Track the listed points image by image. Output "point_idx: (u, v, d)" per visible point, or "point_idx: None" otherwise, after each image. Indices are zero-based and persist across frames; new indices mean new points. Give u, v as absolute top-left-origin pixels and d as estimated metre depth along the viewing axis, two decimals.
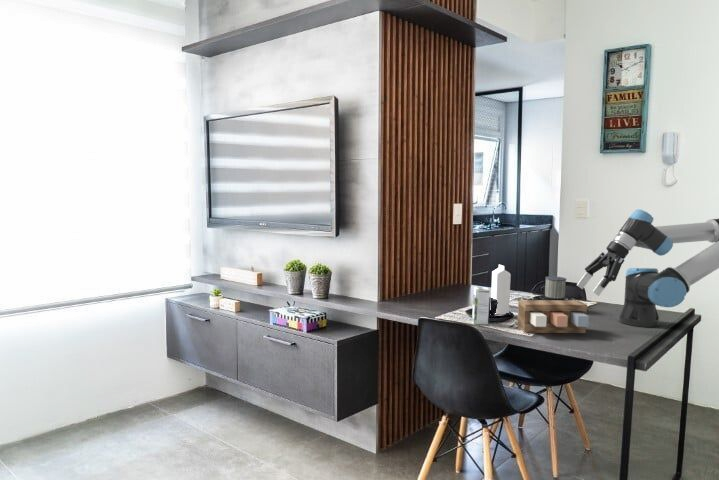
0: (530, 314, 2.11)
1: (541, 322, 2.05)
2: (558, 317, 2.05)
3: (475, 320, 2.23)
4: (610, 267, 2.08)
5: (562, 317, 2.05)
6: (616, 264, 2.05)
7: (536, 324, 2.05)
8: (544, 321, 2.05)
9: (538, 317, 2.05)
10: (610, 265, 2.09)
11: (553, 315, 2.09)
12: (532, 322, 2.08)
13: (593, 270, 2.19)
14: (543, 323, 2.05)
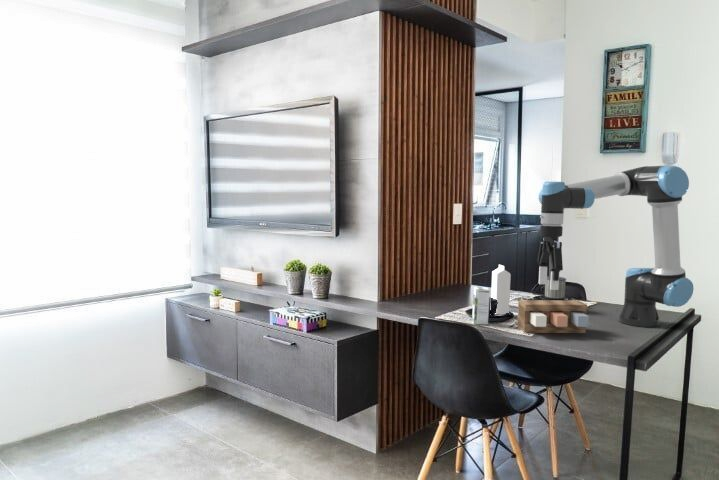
0: (530, 314, 2.11)
1: (541, 322, 2.05)
2: (558, 317, 2.05)
3: (475, 320, 2.23)
4: (553, 255, 1.93)
5: (562, 317, 2.05)
6: (556, 252, 1.90)
7: (536, 324, 2.05)
8: (544, 321, 2.05)
9: (538, 317, 2.05)
10: (552, 253, 1.94)
11: (553, 315, 2.09)
12: (532, 322, 2.08)
13: (544, 260, 2.03)
14: (543, 323, 2.05)
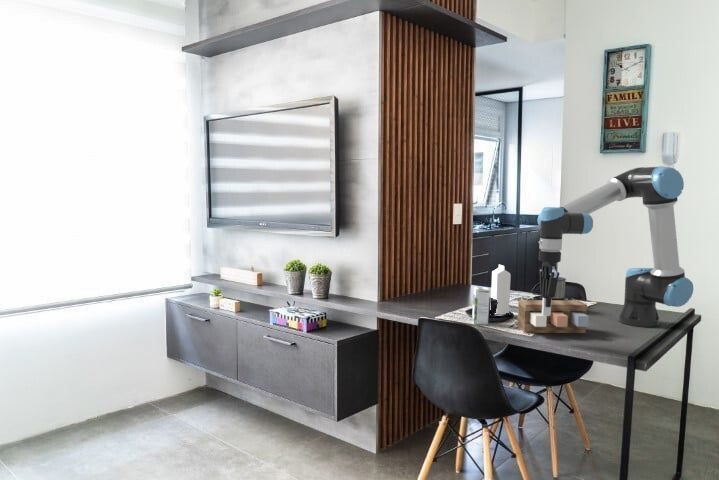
0: (530, 314, 2.11)
1: (541, 322, 2.05)
2: (558, 317, 2.05)
3: (475, 320, 2.23)
4: (548, 282, 1.97)
5: (562, 317, 2.05)
6: (551, 281, 1.93)
7: (536, 324, 2.05)
8: (544, 321, 2.05)
9: (538, 317, 2.05)
10: (548, 280, 1.97)
11: (553, 315, 2.09)
12: (532, 322, 2.08)
13: None
14: (543, 323, 2.05)
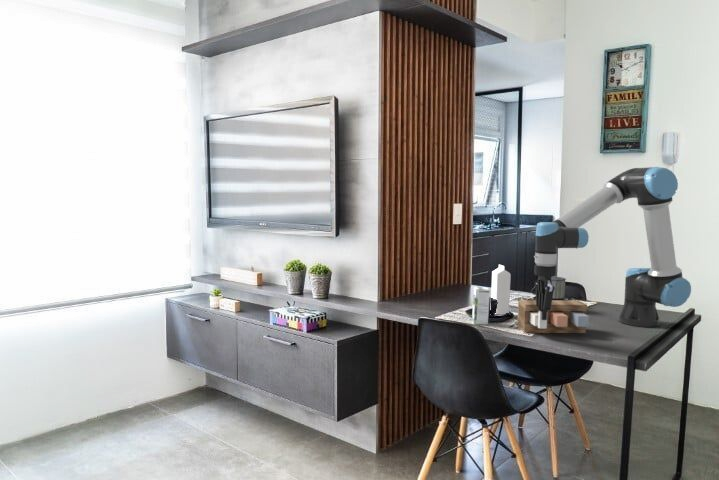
0: (529, 313, 2.12)
1: None
2: (558, 317, 2.05)
3: (475, 320, 2.23)
4: (544, 296, 2.01)
5: (562, 317, 2.05)
6: (547, 295, 1.98)
7: (535, 323, 2.06)
8: None
9: (537, 316, 2.06)
10: (543, 293, 2.01)
11: (553, 315, 2.09)
12: (531, 321, 2.09)
13: None
14: None
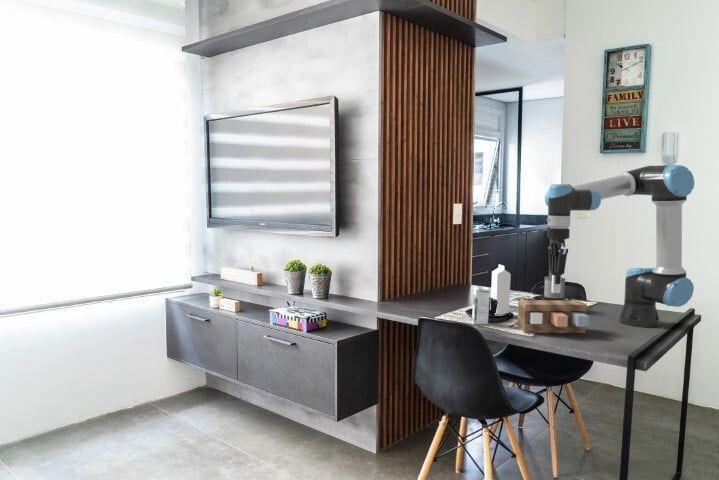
0: None
1: (537, 319, 2.09)
2: (558, 317, 2.05)
3: (475, 320, 2.23)
4: (557, 259, 1.97)
5: (562, 317, 2.05)
6: (560, 258, 1.94)
7: (532, 321, 2.09)
8: (540, 318, 2.09)
9: (534, 314, 2.09)
10: (557, 257, 1.97)
11: (553, 315, 2.09)
12: None
13: None
14: (539, 320, 2.09)
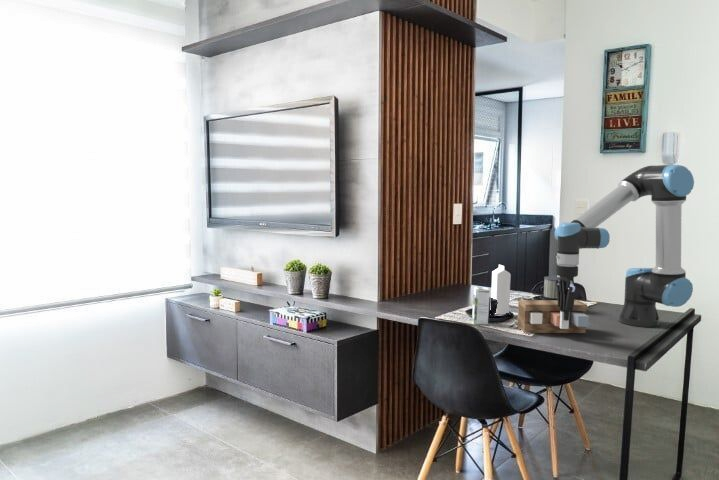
0: None
1: (537, 319, 2.09)
2: (557, 317, 2.06)
3: (475, 320, 2.23)
4: (566, 296, 2.01)
5: None
6: (569, 295, 1.98)
7: (532, 321, 2.09)
8: (540, 318, 2.09)
9: (534, 314, 2.09)
10: (566, 294, 2.01)
11: (552, 315, 2.09)
12: None
13: None
14: (539, 320, 2.09)
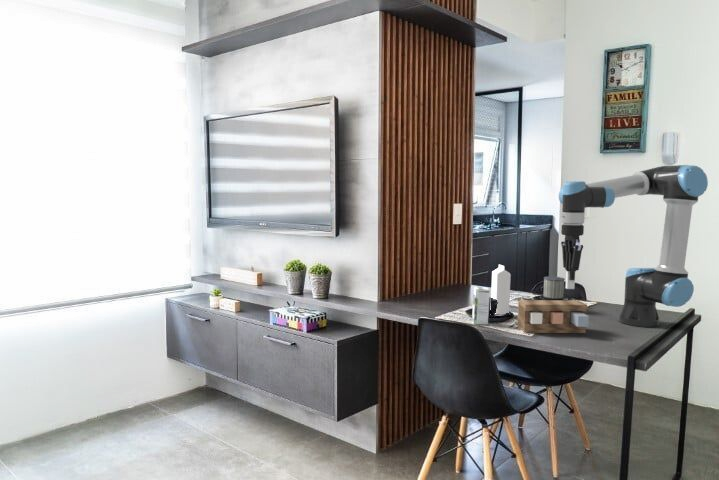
0: None
1: (537, 319, 2.09)
2: (554, 314, 2.09)
3: (475, 320, 2.23)
4: (572, 256, 1.99)
5: (558, 314, 2.09)
6: (575, 254, 1.96)
7: (532, 321, 2.09)
8: (540, 318, 2.09)
9: (534, 314, 2.09)
10: (571, 253, 1.99)
11: None
12: None
13: None
14: (539, 320, 2.09)
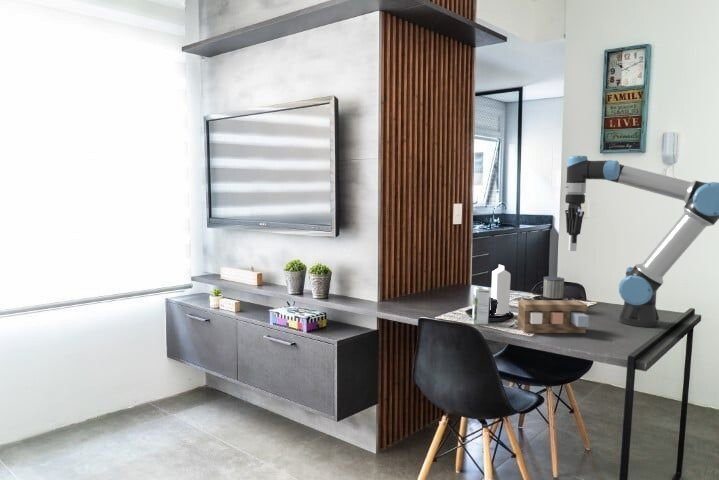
0: None
1: (537, 319, 2.09)
2: (554, 314, 2.09)
3: (475, 320, 2.23)
4: (574, 221, 2.27)
5: (558, 314, 2.09)
6: (577, 219, 2.23)
7: (532, 321, 2.09)
8: (540, 318, 2.09)
9: (534, 314, 2.09)
10: (574, 219, 2.27)
11: None
12: None
13: None
14: (539, 320, 2.09)
